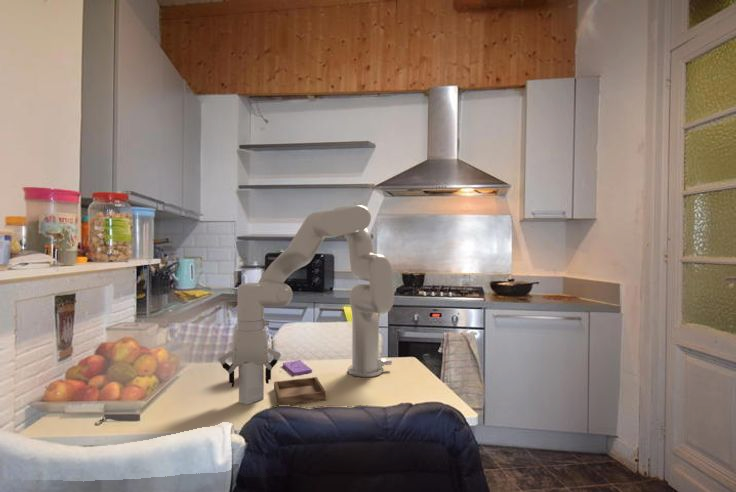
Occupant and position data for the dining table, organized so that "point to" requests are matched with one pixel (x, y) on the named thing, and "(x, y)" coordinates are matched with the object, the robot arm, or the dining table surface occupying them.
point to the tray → (299, 391)
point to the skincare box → (251, 383)
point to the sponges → (297, 367)
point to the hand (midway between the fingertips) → (250, 383)
